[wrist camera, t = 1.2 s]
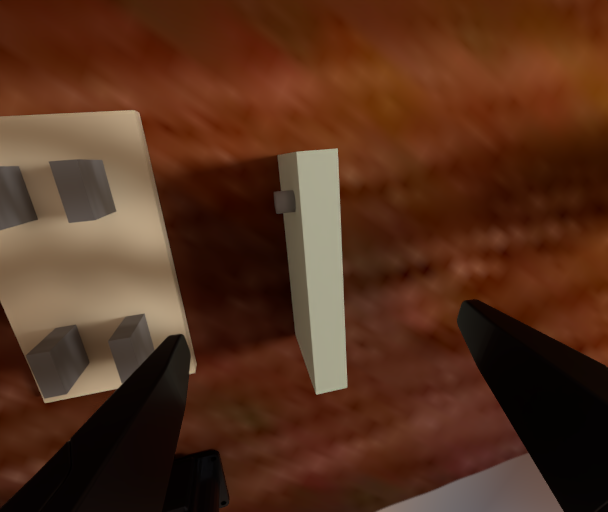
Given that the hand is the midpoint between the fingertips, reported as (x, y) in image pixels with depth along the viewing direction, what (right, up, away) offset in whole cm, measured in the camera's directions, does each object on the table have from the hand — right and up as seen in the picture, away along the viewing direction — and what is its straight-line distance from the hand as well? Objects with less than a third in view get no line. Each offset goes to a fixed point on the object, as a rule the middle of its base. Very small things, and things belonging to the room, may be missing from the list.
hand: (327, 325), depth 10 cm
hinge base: (-15, +2, +10) cm, 18 cm away
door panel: (-1, +3, +13) cm, 13 cm away
